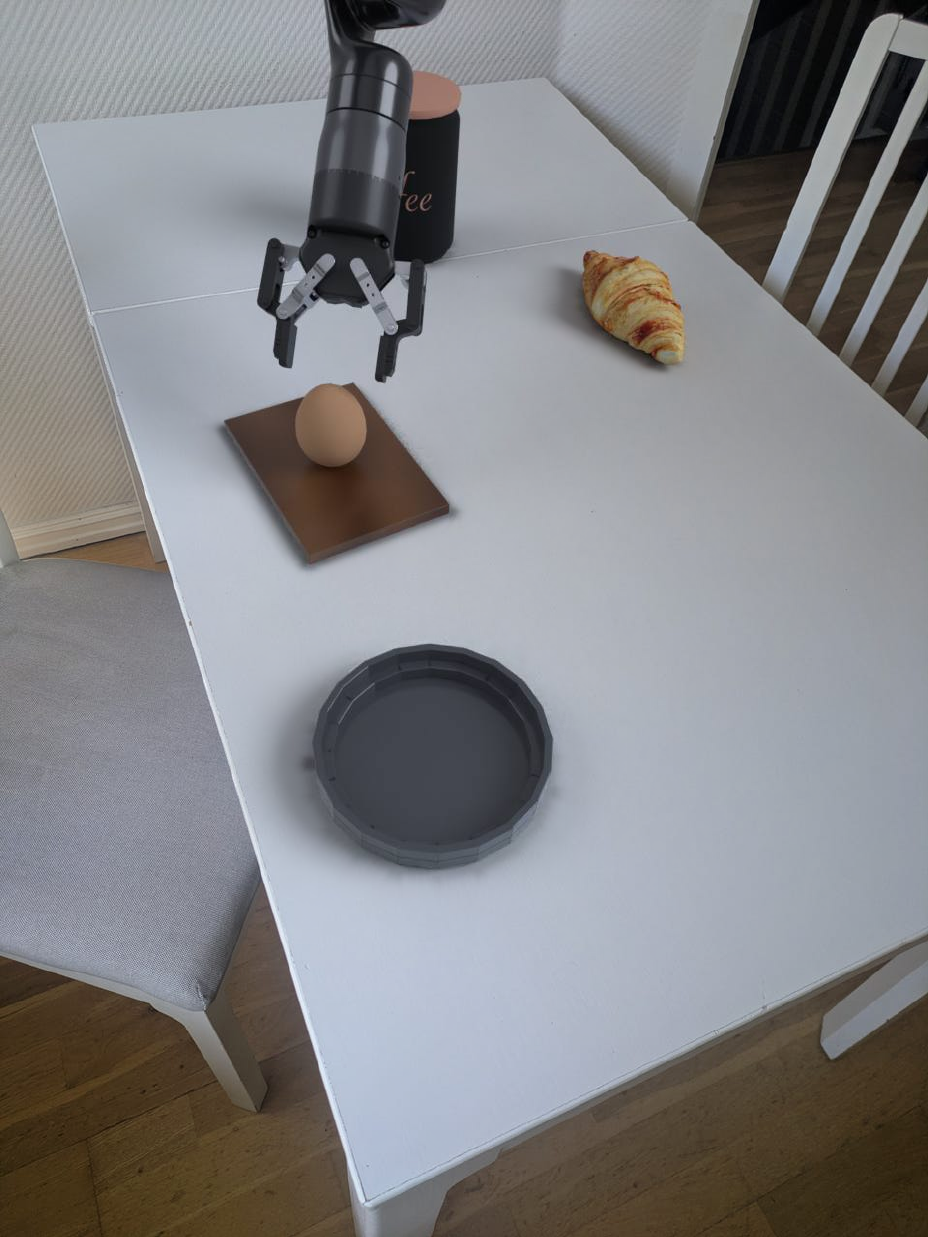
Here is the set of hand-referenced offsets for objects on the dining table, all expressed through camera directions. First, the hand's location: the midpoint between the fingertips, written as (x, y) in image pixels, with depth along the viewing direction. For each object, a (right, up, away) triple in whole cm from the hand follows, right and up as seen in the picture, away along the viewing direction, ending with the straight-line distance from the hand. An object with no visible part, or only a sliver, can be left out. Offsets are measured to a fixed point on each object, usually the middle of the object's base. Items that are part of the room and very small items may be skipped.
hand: (332, 373), depth 79 cm
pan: (+9, -32, -12) cm, 35 cm away
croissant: (+30, +13, +26) cm, 42 cm away
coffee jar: (+5, +25, +33) cm, 42 cm away
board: (-1, -7, +7) cm, 10 cm away
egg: (-1, -7, +6) cm, 9 cm away
